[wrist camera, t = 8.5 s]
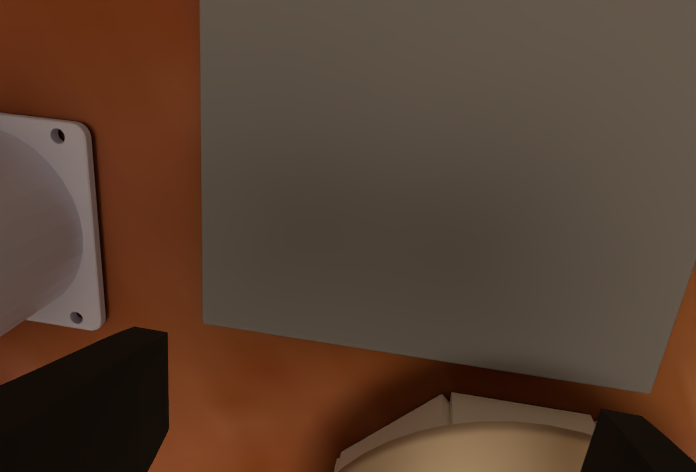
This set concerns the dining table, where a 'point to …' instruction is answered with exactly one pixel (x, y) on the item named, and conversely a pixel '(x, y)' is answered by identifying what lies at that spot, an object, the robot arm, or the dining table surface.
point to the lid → (479, 449)
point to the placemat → (453, 178)
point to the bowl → (465, 420)
